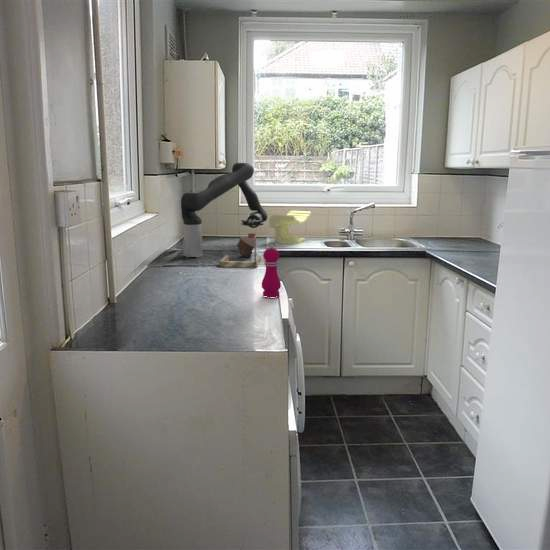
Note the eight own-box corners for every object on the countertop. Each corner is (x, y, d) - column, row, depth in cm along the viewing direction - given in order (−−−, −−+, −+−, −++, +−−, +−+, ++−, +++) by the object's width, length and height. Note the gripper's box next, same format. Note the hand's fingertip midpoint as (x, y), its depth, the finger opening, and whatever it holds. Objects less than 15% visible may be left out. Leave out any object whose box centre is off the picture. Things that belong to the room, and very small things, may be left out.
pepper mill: (269, 292, 200) (270, 242, 196) (284, 296, 196) (285, 244, 191) (257, 296, 195) (257, 244, 190) (272, 299, 190) (272, 246, 186)
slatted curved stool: (287, 237, 338) (287, 210, 334) (310, 239, 332) (311, 211, 328) (269, 244, 311) (269, 214, 307) (293, 246, 305) (293, 216, 301)
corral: (219, 266, 247) (218, 232, 243) (226, 260, 263) (225, 227, 259) (256, 267, 245) (256, 233, 242) (261, 260, 261) (261, 228, 258)
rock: (259, 249, 265) (243, 239, 262) (247, 264, 268) (232, 255, 265) (257, 240, 276) (242, 230, 273) (246, 255, 280) (231, 245, 276)
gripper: (243, 213, 295) (237, 217, 278) (265, 214, 294) (261, 217, 277) (243, 226, 297) (238, 231, 280) (266, 227, 296) (262, 231, 279)
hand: (249, 224), depth 279 cm, fingers closed
